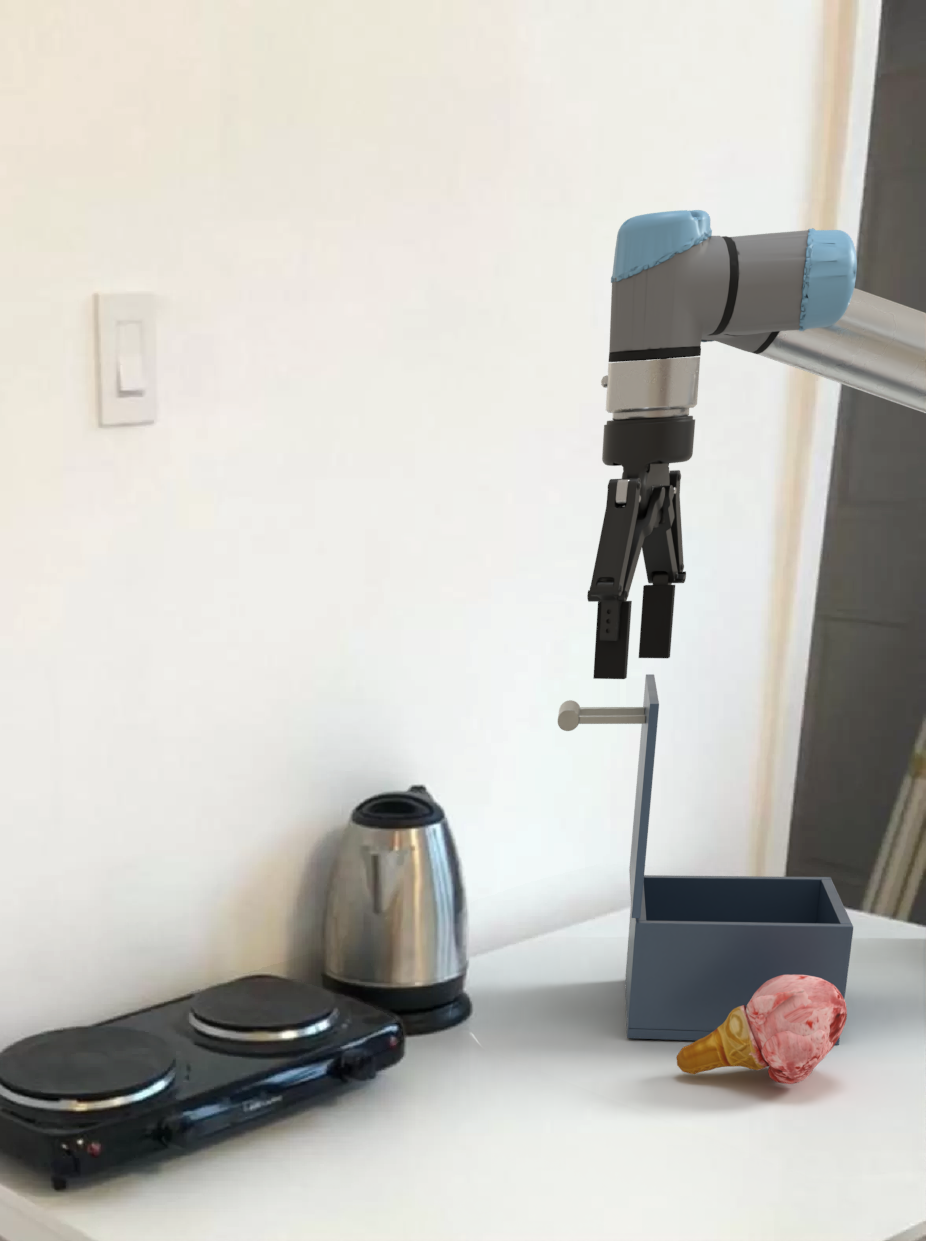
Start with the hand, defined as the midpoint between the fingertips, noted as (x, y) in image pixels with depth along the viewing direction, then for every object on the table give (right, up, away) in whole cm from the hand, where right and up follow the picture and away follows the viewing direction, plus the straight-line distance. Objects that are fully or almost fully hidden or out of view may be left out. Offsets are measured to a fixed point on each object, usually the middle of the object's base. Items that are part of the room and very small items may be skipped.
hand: (632, 668), depth 162 cm
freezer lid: (+5, -9, +10) cm, 14 cm away
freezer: (+15, -30, +16) cm, 37 cm away
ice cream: (+11, -38, -2) cm, 39 cm away
